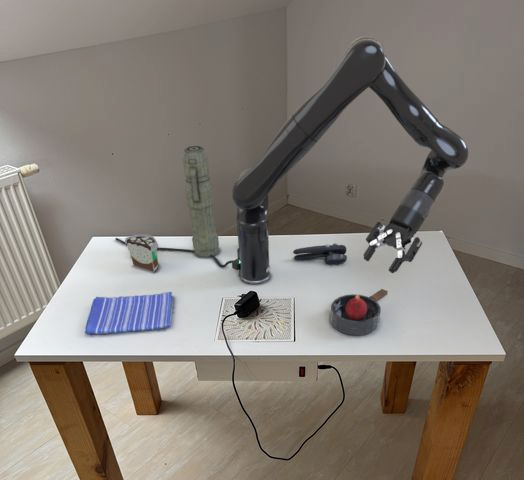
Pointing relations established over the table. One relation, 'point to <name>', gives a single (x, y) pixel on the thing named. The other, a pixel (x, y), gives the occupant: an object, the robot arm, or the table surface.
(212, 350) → the table surface
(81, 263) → the table surface
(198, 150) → the thermos
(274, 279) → the table surface
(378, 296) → the pan handle
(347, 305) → the onion
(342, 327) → the pan
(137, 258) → the cake slice
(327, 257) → the can opener
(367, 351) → the table surface
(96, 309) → the dish towel
